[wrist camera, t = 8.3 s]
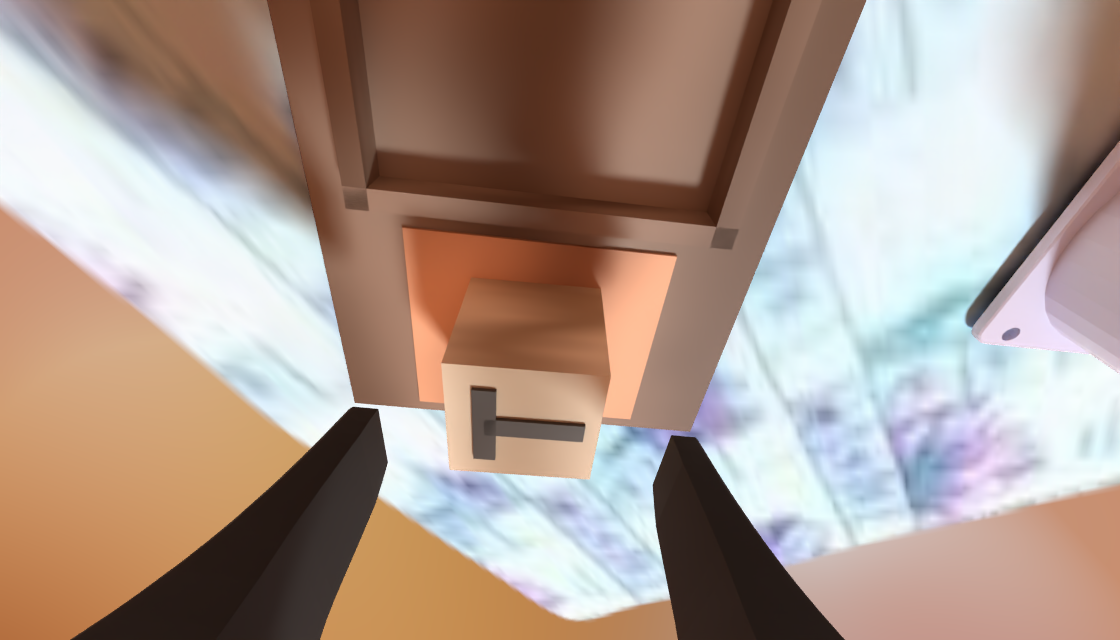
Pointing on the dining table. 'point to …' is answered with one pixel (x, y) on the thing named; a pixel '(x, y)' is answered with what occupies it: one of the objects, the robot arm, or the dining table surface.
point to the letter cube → (526, 379)
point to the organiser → (552, 169)
